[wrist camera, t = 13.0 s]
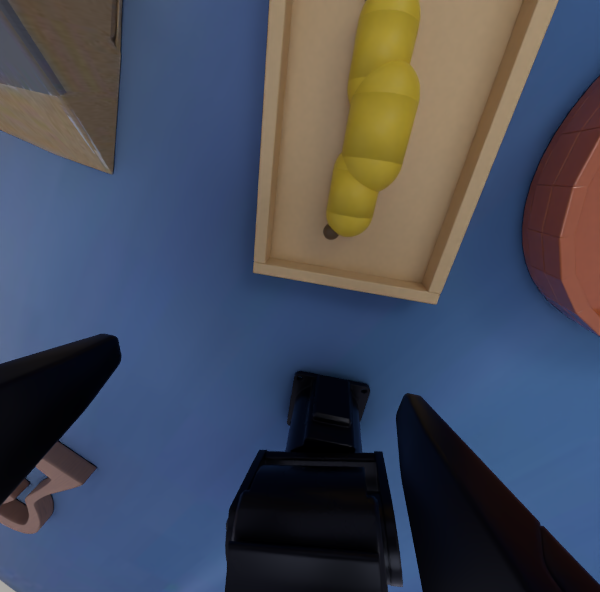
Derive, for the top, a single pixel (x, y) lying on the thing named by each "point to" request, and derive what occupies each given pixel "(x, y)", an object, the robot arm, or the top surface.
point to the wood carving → (45, 489)
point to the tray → (420, 151)
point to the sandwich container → (62, 76)
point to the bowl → (568, 216)
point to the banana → (375, 113)
